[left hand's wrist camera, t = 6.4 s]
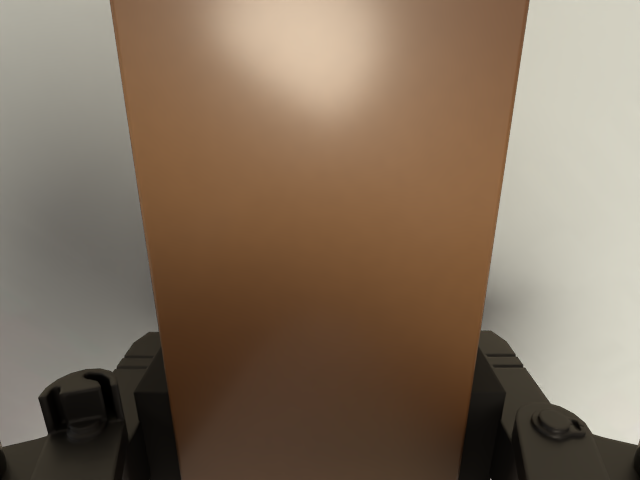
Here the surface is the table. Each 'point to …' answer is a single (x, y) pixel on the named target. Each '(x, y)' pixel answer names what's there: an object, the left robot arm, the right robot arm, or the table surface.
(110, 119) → the table surface
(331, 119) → the post
